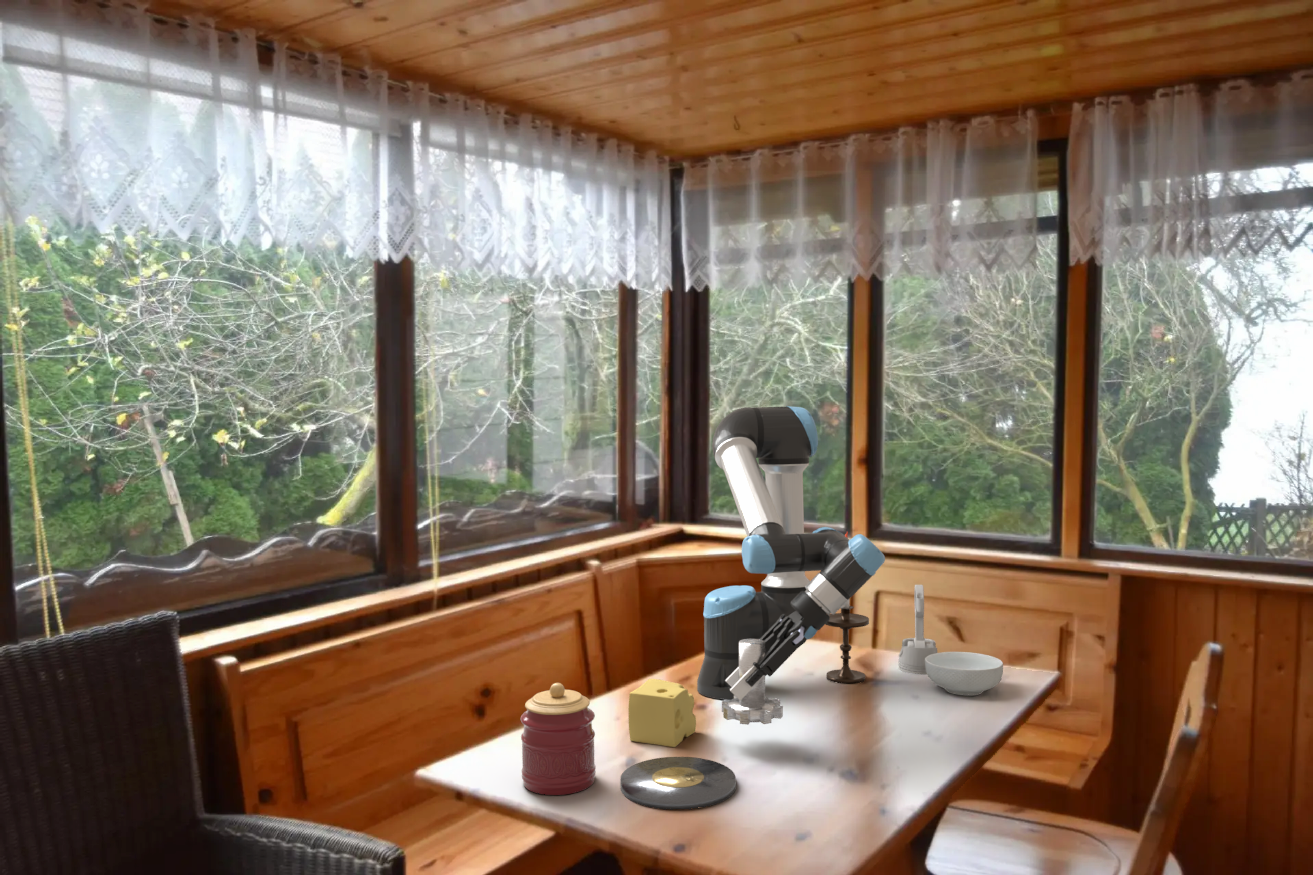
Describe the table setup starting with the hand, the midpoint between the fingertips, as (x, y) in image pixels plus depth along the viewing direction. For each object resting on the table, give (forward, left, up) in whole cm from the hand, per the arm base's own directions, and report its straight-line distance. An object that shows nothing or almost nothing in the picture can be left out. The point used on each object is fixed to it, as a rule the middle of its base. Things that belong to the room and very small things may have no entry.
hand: (732, 689), depth 191 cm
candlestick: (-29, +47, -12) cm, 56 cm away
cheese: (-12, -9, -12) cm, 19 cm away
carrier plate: (+12, -17, -11) cm, 24 cm away
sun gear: (+1, +4, -5) cm, 6 cm away
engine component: (-28, +68, -12) cm, 74 cm away
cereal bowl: (-9, +65, -12) cm, 66 cm away
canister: (+1, -35, -12) cm, 37 cm away
